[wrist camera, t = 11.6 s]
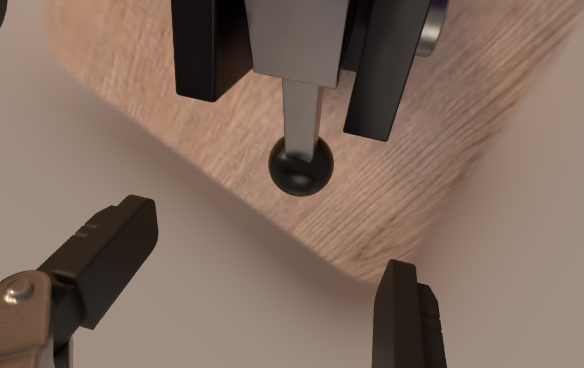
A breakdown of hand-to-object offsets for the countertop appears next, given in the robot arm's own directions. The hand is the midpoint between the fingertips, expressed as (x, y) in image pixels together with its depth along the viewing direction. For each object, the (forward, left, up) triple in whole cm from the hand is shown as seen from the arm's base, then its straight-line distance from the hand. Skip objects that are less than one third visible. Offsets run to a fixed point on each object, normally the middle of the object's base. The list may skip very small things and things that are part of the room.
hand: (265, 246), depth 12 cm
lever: (0, +5, -4) cm, 6 cm away
